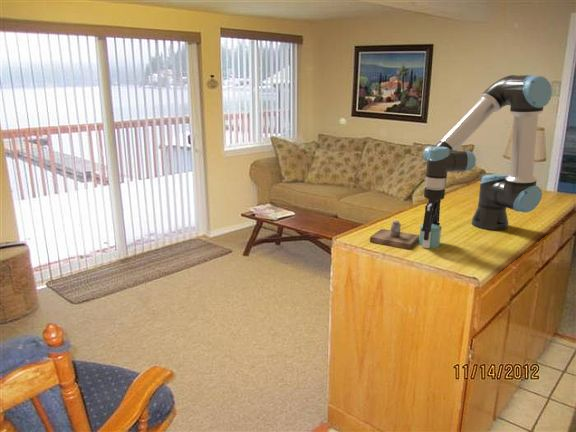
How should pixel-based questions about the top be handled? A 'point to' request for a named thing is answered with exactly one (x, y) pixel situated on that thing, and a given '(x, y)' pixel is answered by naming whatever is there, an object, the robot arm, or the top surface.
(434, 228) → the cap
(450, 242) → the top surface
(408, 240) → the stud base
